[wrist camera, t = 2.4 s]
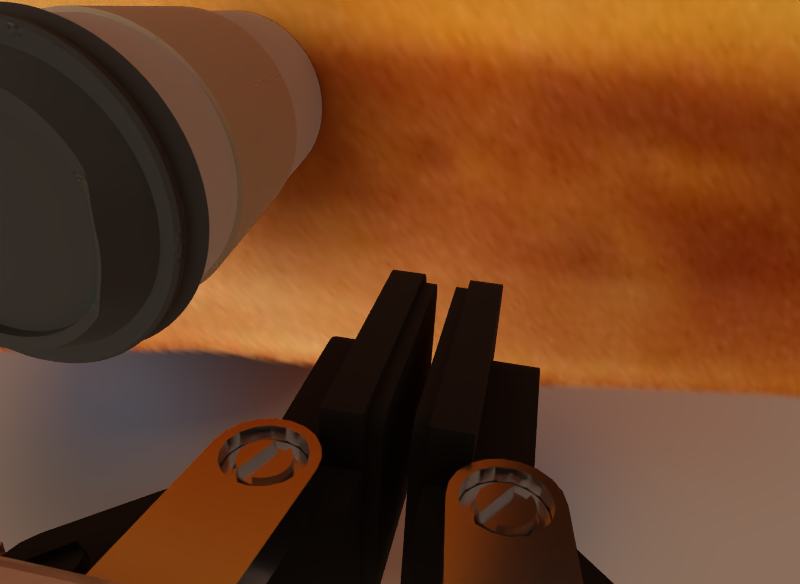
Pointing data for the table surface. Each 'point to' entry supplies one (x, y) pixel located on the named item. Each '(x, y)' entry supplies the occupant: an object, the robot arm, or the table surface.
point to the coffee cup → (135, 163)
